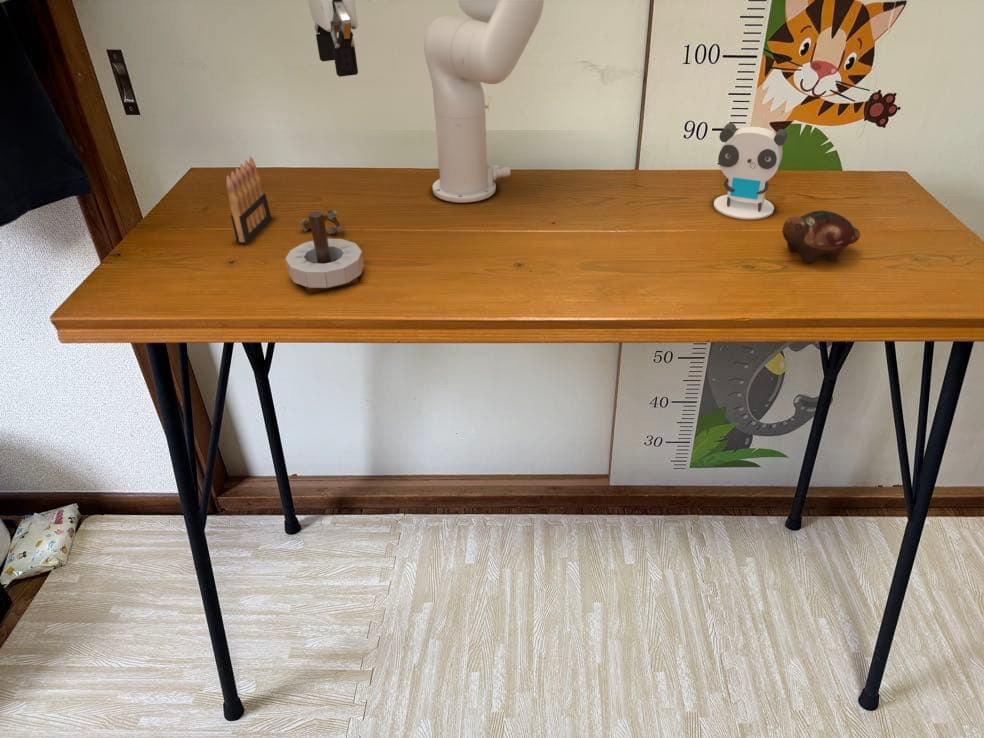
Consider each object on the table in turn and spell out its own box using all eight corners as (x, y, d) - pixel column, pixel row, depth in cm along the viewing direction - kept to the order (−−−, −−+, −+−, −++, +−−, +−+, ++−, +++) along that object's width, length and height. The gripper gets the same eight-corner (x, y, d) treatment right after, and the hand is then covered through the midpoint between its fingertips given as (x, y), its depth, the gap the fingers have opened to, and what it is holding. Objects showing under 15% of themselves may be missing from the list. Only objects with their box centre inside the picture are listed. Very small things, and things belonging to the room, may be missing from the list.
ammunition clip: (247, 244, 134) (230, 177, 127) (236, 243, 134) (219, 177, 127) (271, 218, 143) (257, 154, 135) (262, 218, 143) (247, 154, 135)
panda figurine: (704, 212, 146) (716, 133, 137) (717, 191, 154) (728, 115, 145) (768, 223, 143) (784, 142, 133) (777, 200, 151) (793, 123, 142)
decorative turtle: (760, 252, 133) (770, 207, 129) (828, 242, 139) (840, 199, 134) (796, 274, 126) (808, 227, 122) (867, 263, 131) (881, 218, 127)
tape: (350, 248, 131) (347, 233, 129) (372, 277, 123) (370, 261, 121) (282, 263, 127) (278, 247, 125) (300, 294, 119) (297, 278, 117)
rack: (344, 262, 129) (334, 200, 123) (358, 282, 124) (348, 219, 117) (296, 272, 126) (283, 209, 120) (309, 294, 121) (295, 229, 114)
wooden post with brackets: (344, 233, 136) (331, 210, 134) (312, 244, 139) (299, 221, 137) (350, 229, 137) (337, 206, 135) (317, 240, 141) (304, 217, 139)
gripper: (363, -53, 105) (379, 78, 116) (329, -68, 117) (346, 52, 128) (309, -50, 102) (330, 84, 113) (280, -65, 114) (301, 57, 125)
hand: (338, 67), depth 120 cm, fingers open, 9 cm apart
